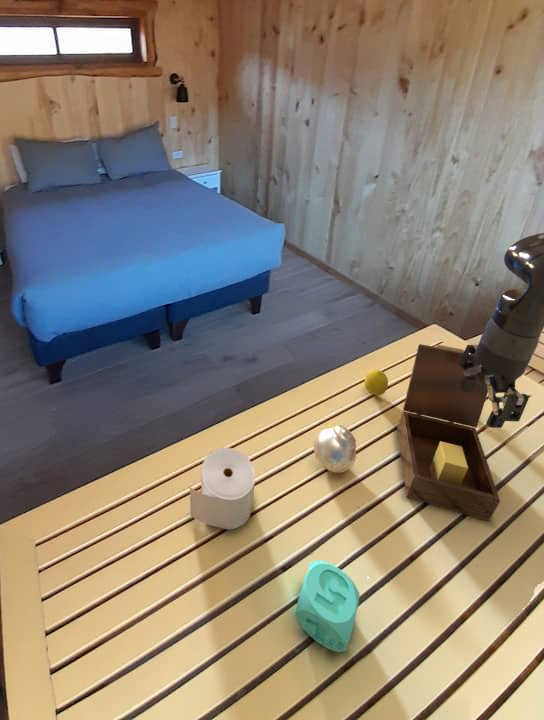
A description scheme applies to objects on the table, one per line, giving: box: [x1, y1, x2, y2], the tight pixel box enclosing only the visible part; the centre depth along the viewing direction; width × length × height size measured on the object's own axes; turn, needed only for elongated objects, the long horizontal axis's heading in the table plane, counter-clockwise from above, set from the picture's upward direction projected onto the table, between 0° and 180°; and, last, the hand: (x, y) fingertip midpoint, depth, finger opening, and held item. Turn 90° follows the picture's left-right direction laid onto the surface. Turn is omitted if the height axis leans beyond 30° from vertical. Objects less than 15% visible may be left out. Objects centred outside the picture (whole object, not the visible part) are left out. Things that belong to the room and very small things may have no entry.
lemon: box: [364, 369, 389, 396], centre depth 106 cm, size 6×6×8 cm
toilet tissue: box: [189, 447, 256, 530], centre depth 81 cm, size 11×12×10 cm
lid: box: [402, 343, 488, 428], centre depth 92 cm, size 18×15×5 cm
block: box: [429, 441, 468, 486], centre depth 84 cm, size 4×5×9 cm
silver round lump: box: [313, 424, 357, 474], centre depth 89 cm, size 9×10×10 cm
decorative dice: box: [294, 560, 361, 653], centre depth 65 cm, size 8×8×8 cm
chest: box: [396, 410, 501, 522], centre depth 87 cm, size 17×15×7 cm
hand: (478, 407), depth 79 cm, fingers open, 8 cm apart
